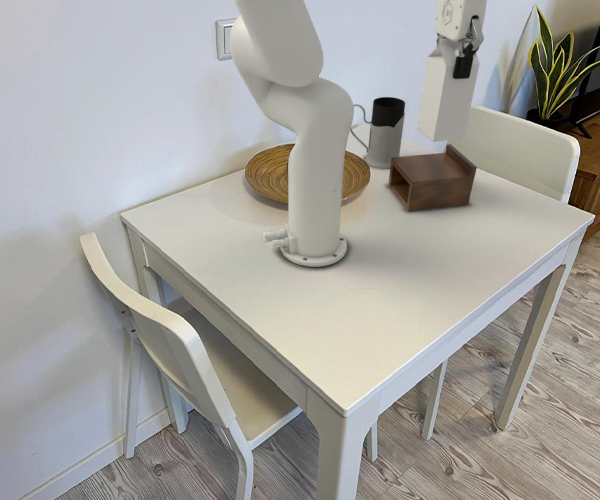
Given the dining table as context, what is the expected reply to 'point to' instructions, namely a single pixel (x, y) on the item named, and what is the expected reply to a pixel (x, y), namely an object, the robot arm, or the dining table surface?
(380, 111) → the glass holder
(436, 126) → the milk carton
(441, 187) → the brown wooden box
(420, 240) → the dining table surface
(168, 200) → the dining table surface
